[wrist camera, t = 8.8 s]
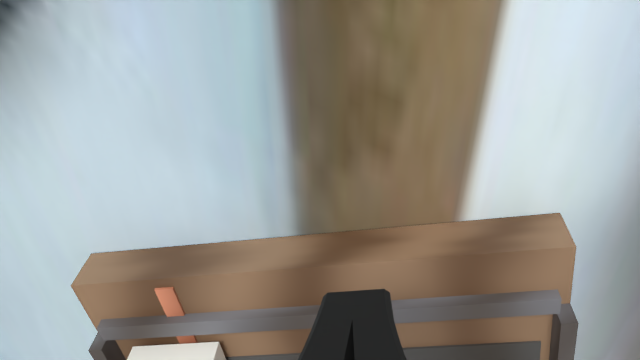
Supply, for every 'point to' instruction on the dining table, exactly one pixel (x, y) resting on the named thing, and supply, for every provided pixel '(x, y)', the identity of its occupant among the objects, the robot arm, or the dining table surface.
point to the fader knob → (178, 352)
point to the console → (345, 275)
